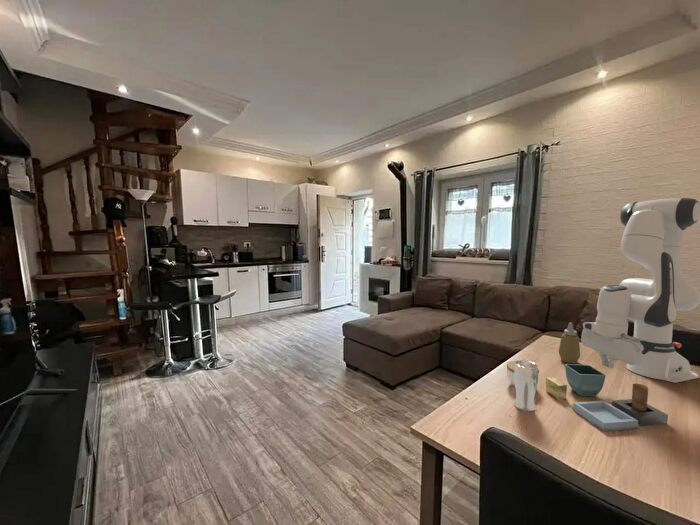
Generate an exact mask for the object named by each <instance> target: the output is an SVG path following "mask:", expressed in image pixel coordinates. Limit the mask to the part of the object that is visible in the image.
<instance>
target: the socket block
mask: <svg viewBox="0 0 700 525" xmlns="http://www.w3.org/2000/svg"><path fill="white" fill-rule="evenodd" d="M611 405H612V406H614V407H616V408H617V409H619V410H621V411H623V412H624V413H626V414H628V415H629V416H631V417H633V418H635V419H636V420H638V427H645V426H647V427H648V426H657V425H659V426H660V425H661V426H662V425H668V421H669V420H668V419H669V414H667V413H665V412H663V411H661V410H660V409H658V408H656V407H654V406H652V405H650V404H648V403H647V412H639V411H637V410H635V409H633V408H631V405H632V398H628V399H615V400H614V399H613V400H611Z"/></svg>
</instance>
